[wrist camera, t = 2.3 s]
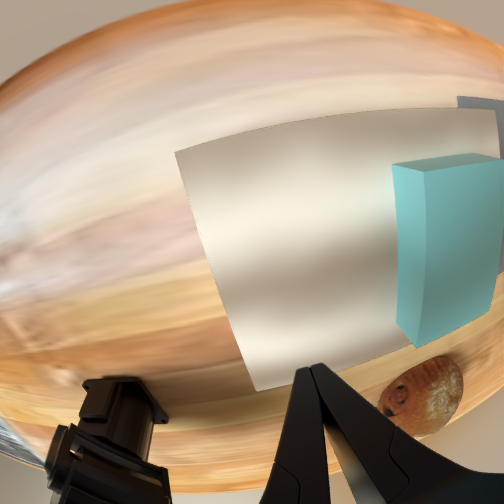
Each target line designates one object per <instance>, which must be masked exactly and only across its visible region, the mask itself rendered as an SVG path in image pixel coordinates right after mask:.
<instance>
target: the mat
mask: <svg viewBox="0 0 504 504" xmlns="http://www.w3.org/2000/svg"><path fill="white" fill-rule="evenodd" d="M457 99H458V105H459V108H467V109H485V110H495V114H496V121H497V128H498V137H499V148H500V159H504V101H500V100H493V99H485V98H476V97H464V96H457ZM503 271H504V228H503V238H502V247H501V254H500V261H499V267H498V272H497V274H499V273H501V272H503Z"/></svg>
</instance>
